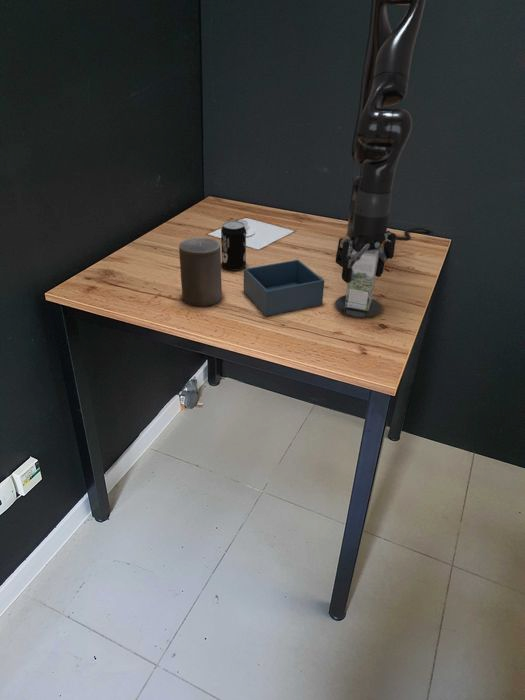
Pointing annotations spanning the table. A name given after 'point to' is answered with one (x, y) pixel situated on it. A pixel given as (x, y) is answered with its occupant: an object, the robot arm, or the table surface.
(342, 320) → the table surface
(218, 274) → the pillar candle
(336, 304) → the coaster
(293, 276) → the bin
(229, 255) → the beverage can
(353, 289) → the syrup box
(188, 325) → the table surface
